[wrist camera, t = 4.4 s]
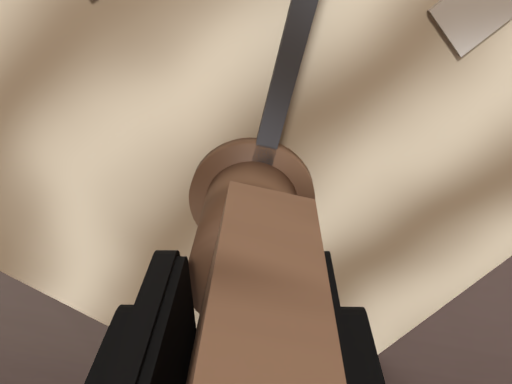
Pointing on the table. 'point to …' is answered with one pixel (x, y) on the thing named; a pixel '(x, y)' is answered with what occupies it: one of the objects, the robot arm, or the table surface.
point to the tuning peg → (262, 250)
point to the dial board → (247, 125)
